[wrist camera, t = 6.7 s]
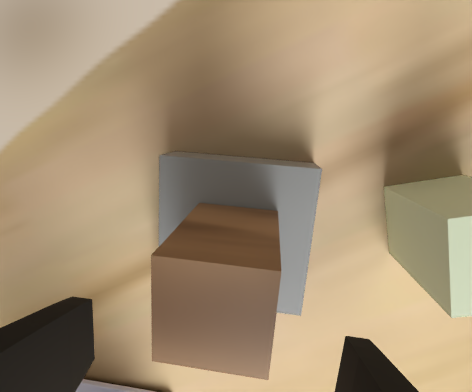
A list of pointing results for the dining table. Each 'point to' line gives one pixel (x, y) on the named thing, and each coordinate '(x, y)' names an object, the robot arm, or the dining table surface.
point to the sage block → (434, 237)
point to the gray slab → (247, 203)
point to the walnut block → (217, 291)
